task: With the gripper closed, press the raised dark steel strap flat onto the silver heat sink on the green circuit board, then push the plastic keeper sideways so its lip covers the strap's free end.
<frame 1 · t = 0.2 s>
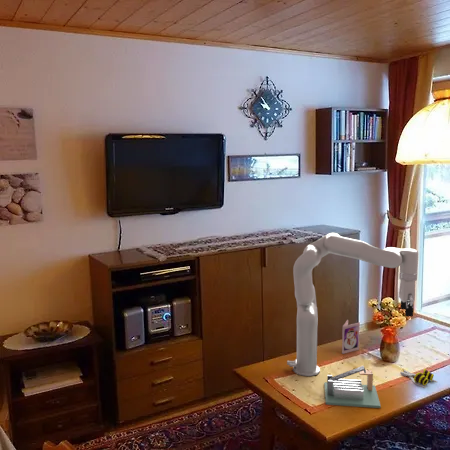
hand: (406, 312, 228), 31 cm above the table, fingers open, 9 cm apart
circuit board: (351, 395, 216), on the table
heatsink: (347, 395, 216), resting on circuit board
strap: (346, 375, 215), point 9 cm above the table, hinge at 25.0°
pliers: (416, 380, 231), on the table, touching opera glasses
opera glasses: (424, 382, 228), on the table, touching pliers
greeting card: (346, 350, 265), on the table
keeper: (365, 379, 220), point 5 cm above the table, slide at 6.0 cm
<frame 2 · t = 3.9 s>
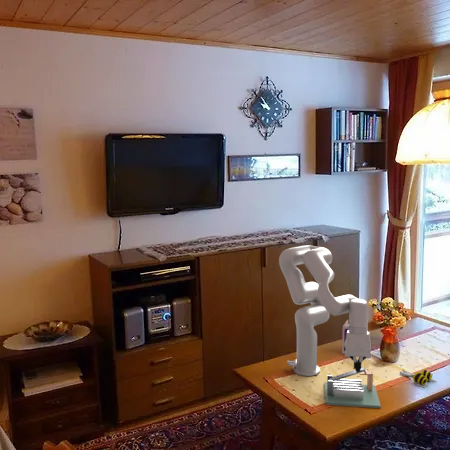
hand: (357, 370, 214), 12 cm above the table, fingers closed
strap: (347, 375, 215), point 9 cm above the table, hinge at 23.0°, touching gripper
everything else where it was.
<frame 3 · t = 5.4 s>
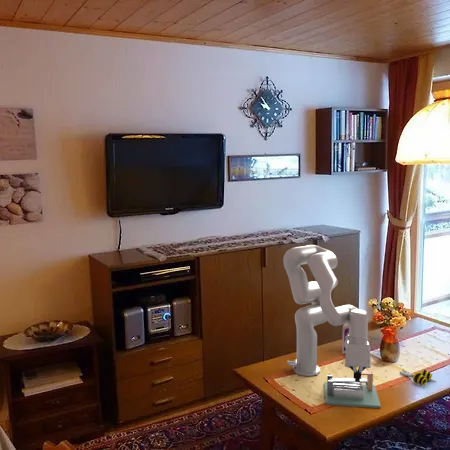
hand: (357, 380, 214), 7 cm above the table, fingers closed
strap: (347, 381, 215), point 6 cm above the table, hinge at 3.3°, touching gripper
everything else where it was.
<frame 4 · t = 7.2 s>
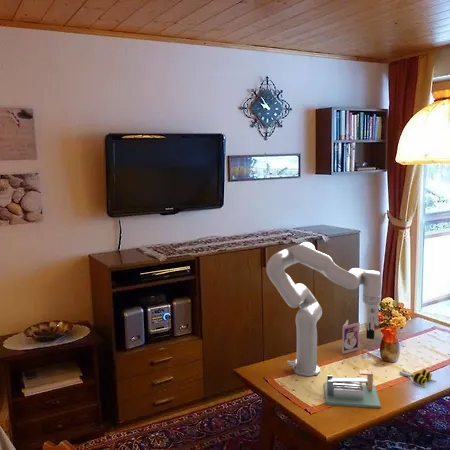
hand: (370, 338, 225), 21 cm above the table, fingers closed
strap: (347, 381, 215), point 6 cm above the table, hinge at 3.3°
everything else where it was.
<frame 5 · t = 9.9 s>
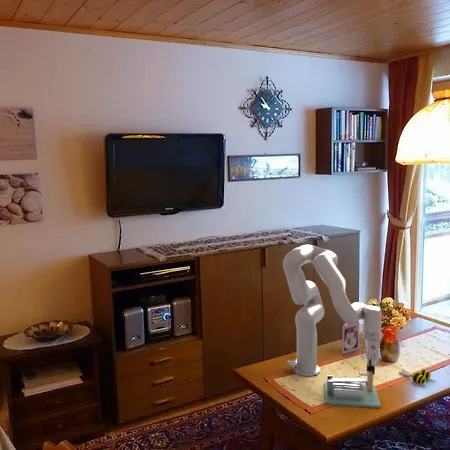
hand: (370, 373, 223), 6 cm above the table, fingers closed
keeper: (365, 380, 220), point 5 cm above the table, slide at 5.5 cm, touching gripper
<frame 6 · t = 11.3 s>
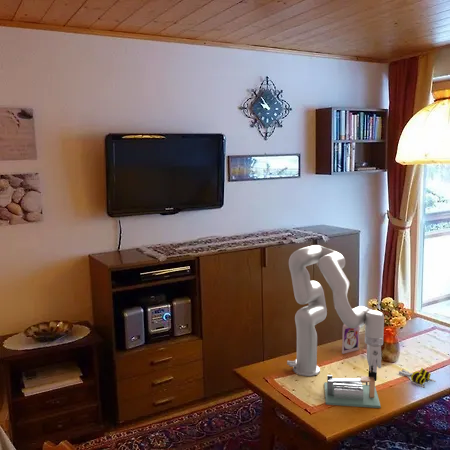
hand: (372, 379, 217), 6 cm above the table, fingers closed
keeper: (367, 386, 214), point 5 cm above the table, slide at -0.6 cm, touching gripper
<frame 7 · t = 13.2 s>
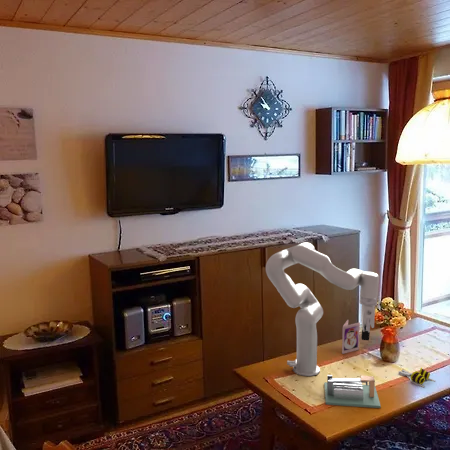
hand: (365, 339, 224), 21 cm above the table, fingers closed
keeper: (367, 386, 214), point 5 cm above the table, slide at -0.1 cm
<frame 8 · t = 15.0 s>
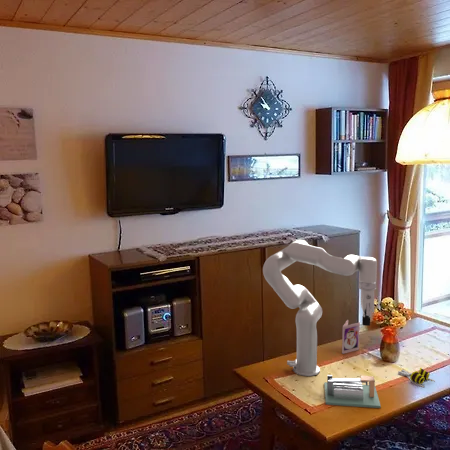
hand: (366, 324, 224), 27 cm above the table, fingers closed
at the end: strap at +3° (first picture: +25°); keeper slide at -0.1 cm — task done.
